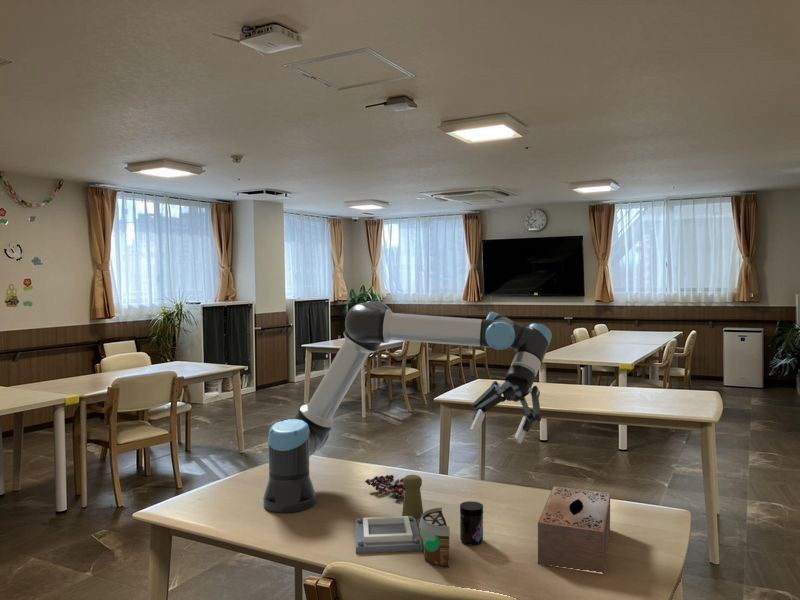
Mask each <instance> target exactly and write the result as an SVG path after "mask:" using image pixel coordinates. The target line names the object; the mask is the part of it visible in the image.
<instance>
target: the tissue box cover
mask: <svg viewBox="0 0 800 600" xmlns="http://www.w3.org/2000/svg"><path fill="white" fill-rule="evenodd" d="M609 531H611V492H606V491H605V492H604V491H597V490H590V489H589V490H588V489H580V488H575V487H574V488H572V487H565V486H563V487H562V486H555V485H554V486H553V487H552V489H551V490H550V494H549V496H548V499H547V501H546V503H545V505H544V507H543V510H542V512H541V514H540V516H539V519H538V522H537V565H541V564H544V565H543V566H547V565H550V566H549V567H553V566H559V567H566V568H573V569H580V570H589V571H596V572H602V573H605V568H604V566H605V567H606V561H605V559H607V554H606V552H608V547H607V544H608V545H609V540H608V538H610V533H609ZM551 565H552V566H551ZM559 567H558V568H559Z"/></svg>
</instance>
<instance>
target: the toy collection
mask: <svg viewBox="0 0 800 600" xmlns="http://www.w3.org/2000/svg"><path fill="white" fill-rule="evenodd" d="M394 478H395V475H393V474H386V475H385V476H384V475H380V476H378V475H376V476H374V477H373V478H372V479H369V478H367V479H366V480H365V481H364V483H366V484H367V485H368V486H370V485H371V486H372V487H373V488H375V490H376V491H379V490H381V491H382V492H386V491H387V492H392V493H393V494H394V495H393V497H392V499H393V500H398V499H399V497H400V496H401V497H404V495H405V487H404V484H403V480H404V478H405V477H403V478H401V479H396V480H395V479H394Z"/></svg>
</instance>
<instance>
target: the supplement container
mask: <svg viewBox="0 0 800 600" xmlns="http://www.w3.org/2000/svg"><path fill="white" fill-rule="evenodd" d="M459 514H460V515H459V539H460V542H461V543H463V544H465V545H467V546H479V545H481V544H482V543H483V541H484V504H483V503H481V502H478V501H464V502H462V503H460V504H459Z"/></svg>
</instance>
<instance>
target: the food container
mask: <svg viewBox="0 0 800 600" xmlns="http://www.w3.org/2000/svg"><path fill="white" fill-rule="evenodd" d="M419 519H420V521H419V528H420V529H421V531H422V539H423V552H424V553H423V554H424V555H423V556H424V560H425V562H426V563H427V564H428V565H430V566H433V567H436V568H437V567H438V568H442V569H446V568H447V569H449V568H450V537H451V532H450V526H449V525H447V522H446V518H445V517H444V514H443V507H434V508H430V509H428V510H426V511H423V514H422V517H421V518H419Z"/></svg>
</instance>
